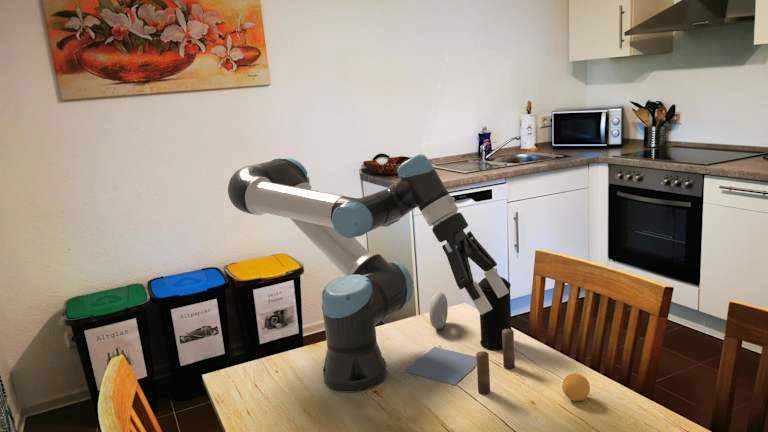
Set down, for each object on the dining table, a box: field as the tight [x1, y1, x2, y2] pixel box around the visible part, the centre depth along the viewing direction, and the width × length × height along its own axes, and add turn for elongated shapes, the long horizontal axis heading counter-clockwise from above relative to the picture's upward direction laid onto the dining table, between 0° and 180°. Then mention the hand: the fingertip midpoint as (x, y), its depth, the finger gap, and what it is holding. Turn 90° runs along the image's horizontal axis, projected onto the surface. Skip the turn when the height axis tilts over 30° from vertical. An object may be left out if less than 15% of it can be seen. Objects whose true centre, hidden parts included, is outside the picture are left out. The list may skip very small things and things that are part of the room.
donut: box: [429, 291, 449, 330], centre depth 165 cm, size 10×4×10 cm, turn 161°
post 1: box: [475, 350, 491, 396], centre depth 131 cm, size 3×3×9 cm
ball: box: [561, 372, 591, 402], centre depth 126 cm, size 6×6×6 cm
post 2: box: [502, 328, 516, 370], centre depth 141 cm, size 3×3×9 cm
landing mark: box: [402, 346, 477, 386], centre depth 145 cm, size 14×14×1 cm
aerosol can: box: [477, 267, 512, 351], centre depth 152 cm, size 8×8×20 cm
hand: (495, 303), depth 132 cm, fingers open, 13 cm apart
